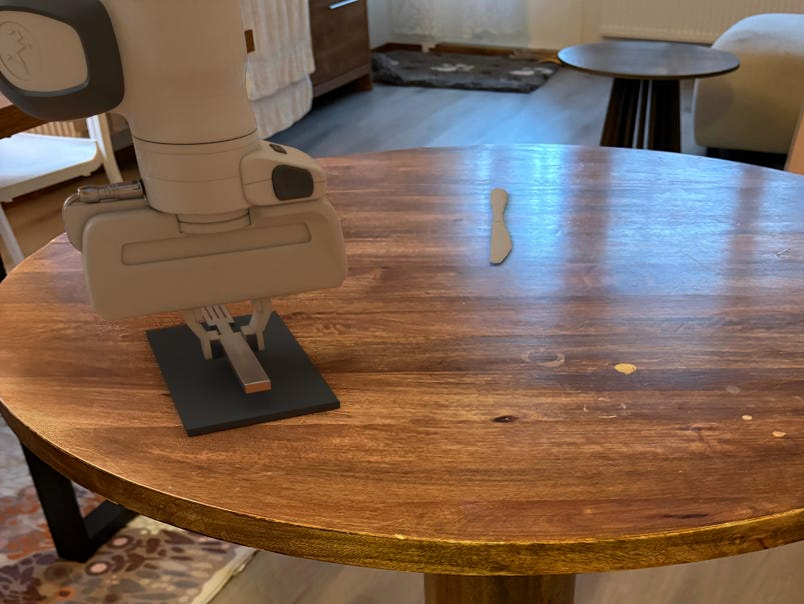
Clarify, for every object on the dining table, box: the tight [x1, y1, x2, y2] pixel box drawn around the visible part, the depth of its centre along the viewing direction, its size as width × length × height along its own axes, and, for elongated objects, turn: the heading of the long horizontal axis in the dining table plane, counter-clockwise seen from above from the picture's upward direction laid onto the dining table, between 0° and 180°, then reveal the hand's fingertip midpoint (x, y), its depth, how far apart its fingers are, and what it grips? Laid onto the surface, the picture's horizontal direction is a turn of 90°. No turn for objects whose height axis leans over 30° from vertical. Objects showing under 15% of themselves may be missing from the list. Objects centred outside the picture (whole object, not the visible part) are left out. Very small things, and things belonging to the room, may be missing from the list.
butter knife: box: [489, 187, 513, 265], centre depth 107 cm, size 1×27×3 cm
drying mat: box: [144, 310, 341, 437], centre depth 77 cm, size 20×12×1 cm, turn 24°
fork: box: [201, 304, 271, 394], centre depth 76 cm, size 18×2×1 cm, turn 24°
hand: (234, 352), depth 77 cm, fingers closed on fork
